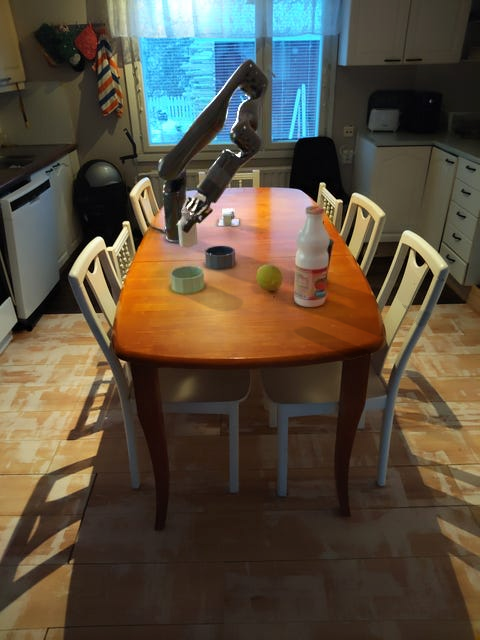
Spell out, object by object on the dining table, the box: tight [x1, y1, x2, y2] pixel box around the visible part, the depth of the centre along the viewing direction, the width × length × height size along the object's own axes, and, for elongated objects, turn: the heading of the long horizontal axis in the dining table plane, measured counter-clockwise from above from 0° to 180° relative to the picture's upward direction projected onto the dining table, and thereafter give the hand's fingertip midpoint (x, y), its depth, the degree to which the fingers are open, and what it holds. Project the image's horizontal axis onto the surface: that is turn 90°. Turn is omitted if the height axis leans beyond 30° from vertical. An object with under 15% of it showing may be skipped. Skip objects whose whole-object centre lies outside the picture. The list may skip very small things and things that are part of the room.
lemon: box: [256, 263, 283, 292], centre depth 144 cm, size 11×8×8 cm
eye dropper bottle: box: [178, 207, 198, 249], centre depth 141 cm, size 4×6×12 cm
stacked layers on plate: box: [217, 207, 240, 227], centre depth 206 cm, size 10×9×6 cm
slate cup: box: [204, 245, 236, 271], centre depth 163 cm, size 10×10×5 cm
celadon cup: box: [169, 265, 205, 295], centre depth 147 cm, size 10×10×5 cm
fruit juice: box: [293, 205, 331, 308], centre depth 131 cm, size 9×9×28 cm
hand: (181, 229), depth 141 cm, fingers closed on eye dropper bottle, 3 cm apart
